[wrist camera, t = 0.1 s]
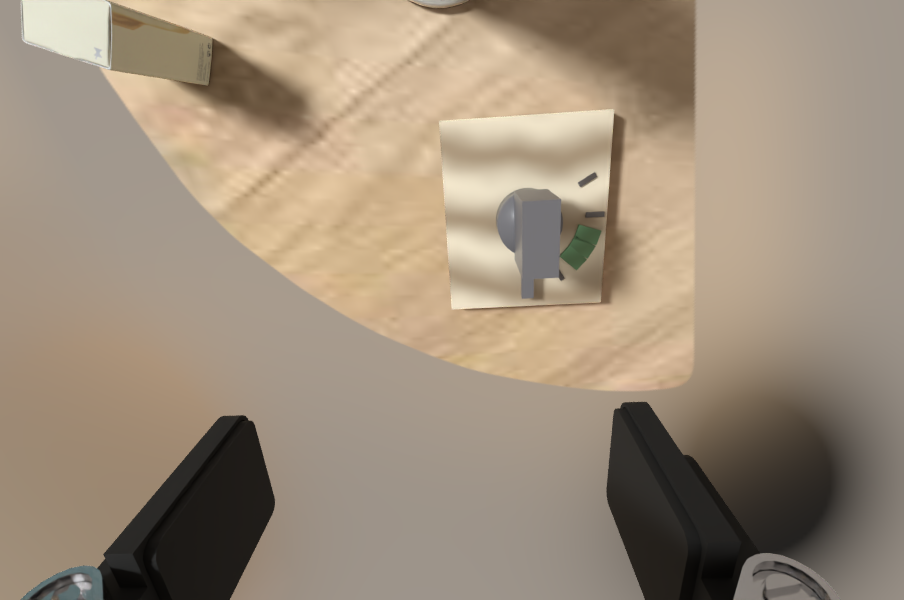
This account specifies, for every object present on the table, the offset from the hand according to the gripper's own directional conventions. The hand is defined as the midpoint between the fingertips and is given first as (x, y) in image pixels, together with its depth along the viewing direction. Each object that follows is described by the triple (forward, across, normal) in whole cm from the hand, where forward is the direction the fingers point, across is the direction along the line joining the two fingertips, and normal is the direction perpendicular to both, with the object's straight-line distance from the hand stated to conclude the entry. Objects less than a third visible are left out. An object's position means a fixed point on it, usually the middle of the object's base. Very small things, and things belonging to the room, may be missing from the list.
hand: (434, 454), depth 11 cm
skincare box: (+37, +25, -16) cm, 47 cm away
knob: (+34, -7, +3) cm, 35 cm away
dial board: (+37, -7, +1) cm, 37 cm away
